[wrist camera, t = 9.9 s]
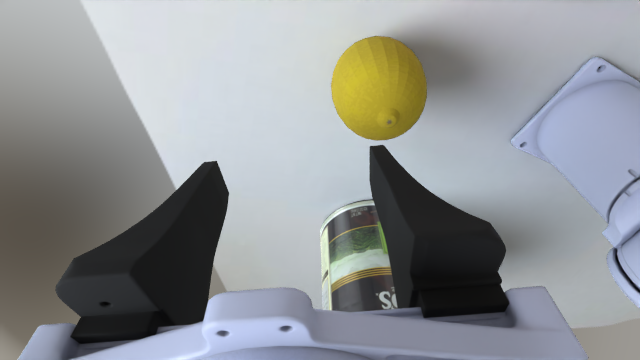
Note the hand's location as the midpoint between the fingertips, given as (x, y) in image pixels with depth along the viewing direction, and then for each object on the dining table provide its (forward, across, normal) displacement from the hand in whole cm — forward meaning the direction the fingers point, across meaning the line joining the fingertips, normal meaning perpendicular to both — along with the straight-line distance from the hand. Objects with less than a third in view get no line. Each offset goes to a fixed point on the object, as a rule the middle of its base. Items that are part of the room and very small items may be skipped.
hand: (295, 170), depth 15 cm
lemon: (+11, -5, -1) cm, 12 cm away
